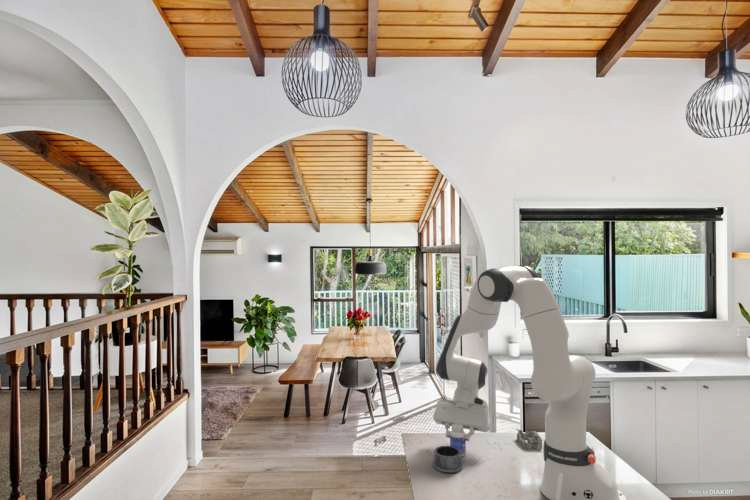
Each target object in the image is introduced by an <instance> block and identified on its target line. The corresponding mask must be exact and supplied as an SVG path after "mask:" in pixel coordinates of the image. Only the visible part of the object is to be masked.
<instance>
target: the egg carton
mask: <svg viewBox="0 0 750 500" xmlns="http://www.w3.org/2000/svg"><path fill="white" fill-rule="evenodd" d="M516 431H517V434H516V439H517V440H516V441H519V444H520V445H522V448H524V449H525V450H526V449H527V450H532V449H536V450H540V449H543V439H542V437H541V436H540V435H539V433H538V432H537V431H535V430H533V431H532V430H530V431H527V430H526V431H525V432H523V430H522V429H518V428H516Z"/></svg>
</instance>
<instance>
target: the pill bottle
mask: <svg viewBox="0 0 750 500" xmlns="http://www.w3.org/2000/svg"><path fill="white" fill-rule="evenodd" d="M465 434H466V432H465V430H464V428H463V425H461V424H453V425H452V426H451V431H450V438H449V444H450V445H449V446H452V447H456V448H458V449H460V451H461V457H464V456H465V455H466V454H467V452H466V451H467V446H466V445H467V444H466V443H467V441H465V440H464V437H465Z"/></svg>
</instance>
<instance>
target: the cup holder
mask: <svg viewBox="0 0 750 500" xmlns="http://www.w3.org/2000/svg"><path fill="white" fill-rule="evenodd" d="M433 457H434V458H433V459H434V460H433V461H432V467H433V469H434V470H435V471H436V472H439V473H441V474H447V475H454V474H458V473H460V472H462V471H463V469H464V467H463V462H462V456H461V451H460V449H458V448H456V447H452V446H450V445H441V446H438V447H436V448H435V449H434V450H433Z"/></svg>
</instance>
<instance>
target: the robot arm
mask: <svg viewBox="0 0 750 500" xmlns="http://www.w3.org/2000/svg"><path fill="white" fill-rule="evenodd" d="M509 301H513V302H515V303H516V304H517V306H518V307H519V310H520V313H521V315H522V320H523V322H524V325H525V328H526V331H527V334H528V337H529V341H530V344H531V345H530V346H531V351H532V352H531V353H532V362H533V363H532V364H533V366H532V367H533V370H532V373H531V377H530V384H531V385H530V386H531V388H532V390H533V392H534V393H535V395H536V396H537V397H538V398H539V399H540V400H542V401H544V402H547V403H548V406H547V408H546V411H545V413H544V436H545V437H544V438H545V439H544V440H543V443H542V449H543V460H544V468H543V476H542V479H541V484H540V487H539V488H540V489H539V490H540V492H541V493H542V494H543V495H544V497H546V498H547V499H549V500H627V497H626V495H625V494H624V493H623V492H622V491H621V490H619V489H618V486H617V482H616V480H615V478H614V476H613V475H612V473H610V471H609V470H606V469H605V468H604V467H603V466H602V465H601V464H599V463H598V462H597V457H596V455H595V451H594V447H593V446H591V447H590V446H589V445H587V415H588V410H589V405H590V397H591V394H592V393H591V392H592V387H593V384H594V381H595V379H596V370H595V367H594V364H593V363H592V362H591V361H590V360H589V359H588V358H586V357H584V356H582V355H577V354H576V355H575V354H570V353H569V345H568V342H569V337H570V336H569V335H570V333H569V330H568V327H567V325H566V322H565V319H564V317H563V314H562V311H561V309H560V306H559V303H558V301H557V299H556V297H555V295H554V293H553V291H552V289H551V288H550V286H549V284H548V283H547V282H546V280H545V279H543V278H540V277H539V275H538V273H537V272H536V270H535V269H533V267H531V266H527V265H516V266H515V265H511V266H509V265H506V266H505V265H504V266H501V267H496V268H493V267H492V268H490V269H486V270H485V271H483V272H482V273H480V275H479V276H478V278H477V279H476V280H475V281H474V283H473V285H472V288H471V291H470V294H469V299H468V302H467V306H466V309H465V311H464V312H463V313H461V314H459V315H457V316H456V318H455V319H454V321H453V324H452V326H451V328H450V330H449V333H448V335H447V338H446V340H445V343H444V346H443V349H442V351H441V352H440V355H438V358H437V361H436V363H435V372H436V374H437V375H438V377H439V378H440V379H441V380H444V381H445V380H446V381H452V382H456V386H457V387H456V388H455V390H454V394H453V399H446V398H441V399H439V400H438V401H437V402H436V407H435V410H434V413H433V416H432V418H433V421H434V423H436V424H438V425H442V426H444V428H445V437H446V438H449V439H450V432H451V431H450V430H449V429H450V428H451V427H452V425H453V424H461V425H463V430H464V429H465V430H469V432H468V433H465V437H464V440H465V441H466V442H470V439H471V437H472V436H473V435H474V434H475V433H476V432H475V431H477V432H483V433H488V432H489V431H490V428H491V417H490V407H489V404H488V402H487V401H486V400H484V399H482V398H481V397H479V392H480V390H481V389H482V388H483V387H485V385H486V378H487V374H488V368H487V365H486V364H485V363H484V361H482V360H479V359H477V358H476V359H475V358H472V357H467V356H462V355H459V354H456V353H455V352H454V351H455V349H456V346H457V345H458V342H459V339H460V338H461V337H462V336H465V335H469V334H480V333H481V334H482V333H485V332H488V331H490V330H491V329H493V328H494V327H495V326H496V324H497V321H498V320H499V315H500V312H501V307H502V303H508V302H509Z"/></svg>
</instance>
